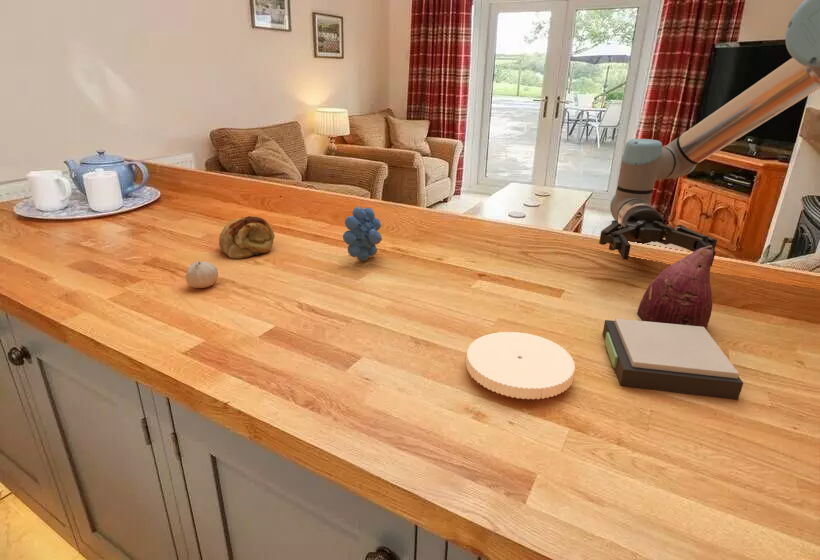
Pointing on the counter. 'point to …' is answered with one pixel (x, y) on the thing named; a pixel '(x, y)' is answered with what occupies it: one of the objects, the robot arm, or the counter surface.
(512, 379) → the plastic lid
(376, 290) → the counter surface
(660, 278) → the vegetable
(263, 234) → the pastry
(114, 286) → the counter surface
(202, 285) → the garlic
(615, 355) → the scale
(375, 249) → the grapes
